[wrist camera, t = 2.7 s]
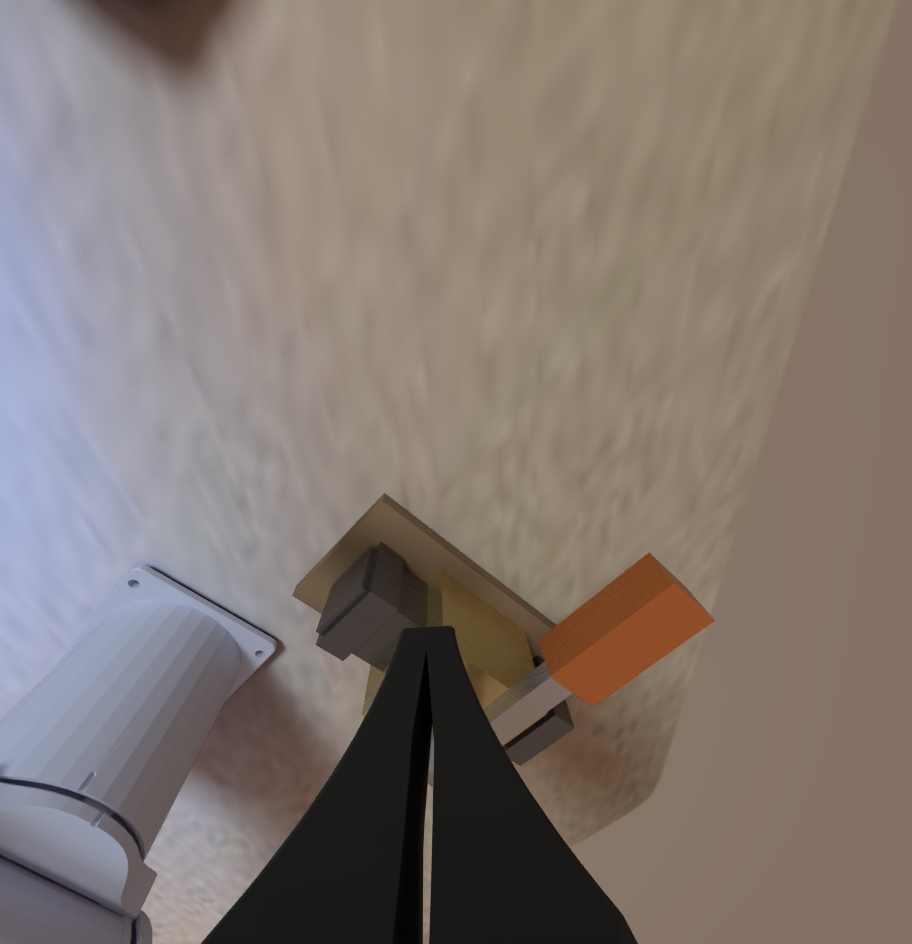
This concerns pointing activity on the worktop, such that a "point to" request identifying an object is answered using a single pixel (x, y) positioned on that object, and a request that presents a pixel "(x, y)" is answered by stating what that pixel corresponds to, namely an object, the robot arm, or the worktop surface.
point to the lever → (601, 646)
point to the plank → (417, 566)
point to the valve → (428, 605)
